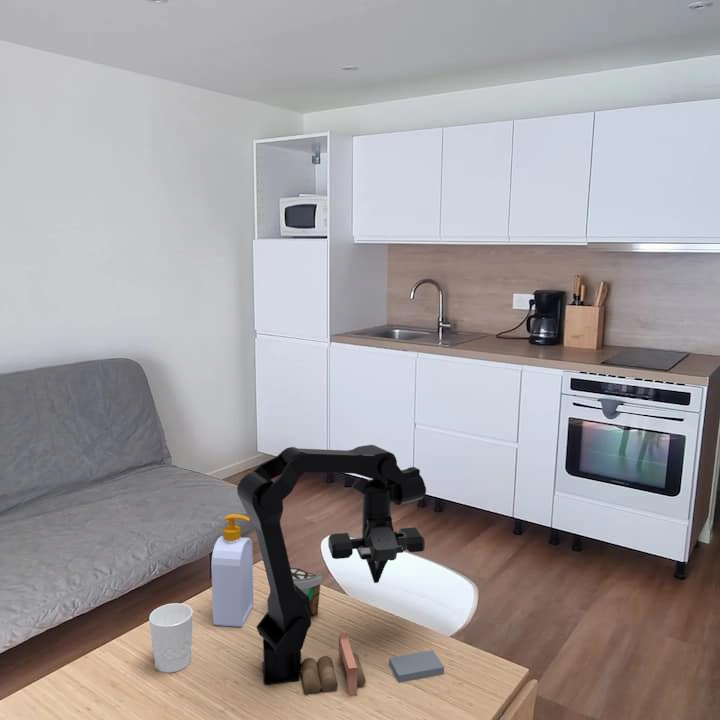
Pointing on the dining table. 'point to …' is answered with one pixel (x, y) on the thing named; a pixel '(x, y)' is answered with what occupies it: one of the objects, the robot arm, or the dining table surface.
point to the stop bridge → (348, 664)
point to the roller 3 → (359, 672)
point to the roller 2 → (327, 674)
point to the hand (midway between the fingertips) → (375, 581)
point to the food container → (308, 586)
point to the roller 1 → (310, 676)
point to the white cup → (171, 636)
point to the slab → (416, 666)
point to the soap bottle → (232, 576)
